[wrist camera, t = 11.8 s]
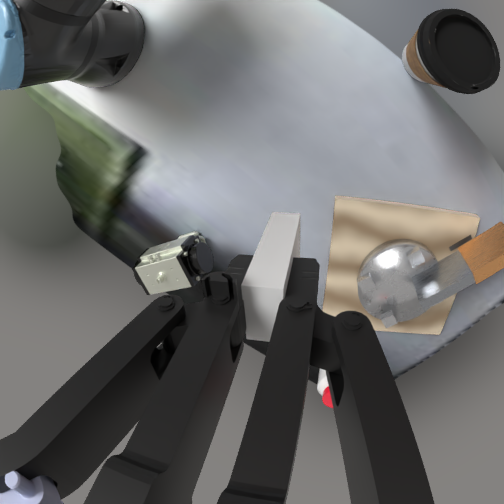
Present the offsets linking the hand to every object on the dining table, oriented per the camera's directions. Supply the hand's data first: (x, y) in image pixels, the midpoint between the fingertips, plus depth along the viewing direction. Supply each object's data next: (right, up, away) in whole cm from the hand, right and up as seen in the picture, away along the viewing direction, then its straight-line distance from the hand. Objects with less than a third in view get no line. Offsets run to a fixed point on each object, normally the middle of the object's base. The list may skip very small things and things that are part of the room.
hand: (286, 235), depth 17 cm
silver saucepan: (+24, -2, +23) cm, 34 cm away
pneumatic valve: (-12, +1, +34) cm, 36 cm away
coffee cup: (+20, +23, +13) cm, 33 cm away
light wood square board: (+20, -4, +27) cm, 34 cm away
